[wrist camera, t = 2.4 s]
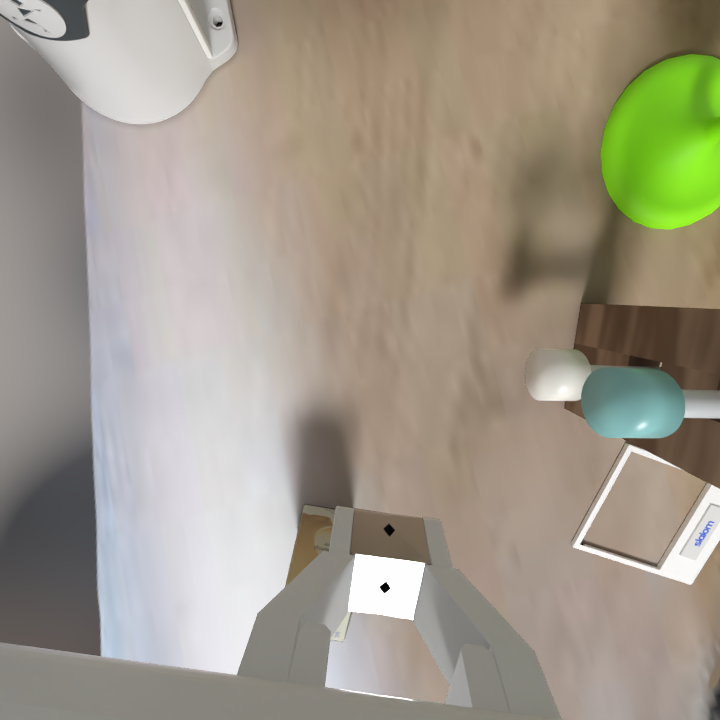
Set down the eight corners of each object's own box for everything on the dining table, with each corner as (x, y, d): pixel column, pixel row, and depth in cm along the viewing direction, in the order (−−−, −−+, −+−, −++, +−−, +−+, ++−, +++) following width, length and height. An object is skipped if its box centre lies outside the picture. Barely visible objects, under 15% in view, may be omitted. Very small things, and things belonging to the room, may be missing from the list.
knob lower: (521, 391, 31) (550, 407, 27) (528, 344, 31) (558, 353, 26) (652, 394, 32) (700, 410, 28) (661, 348, 31) (712, 357, 27)
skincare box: (354, 512, 41) (359, 603, 29) (346, 543, 41) (348, 645, 29) (301, 502, 40) (283, 592, 28) (294, 534, 41) (274, 635, 29)
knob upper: (576, 421, 24) (627, 450, 20) (586, 361, 23) (642, 376, 19) (744, 424, 25) (828, 452, 20) (759, 365, 24) (851, 381, 20)
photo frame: (692, 586, 44) (573, 548, 42) (684, 579, 45) (567, 541, 43) (753, 490, 42) (630, 445, 40) (743, 485, 43) (623, 441, 41)
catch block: (564, 408, 39) (862, 563, 17) (581, 303, 37) (952, 319, 14) (589, 408, 39) (917, 562, 17) (607, 304, 37) (1014, 321, 15)
